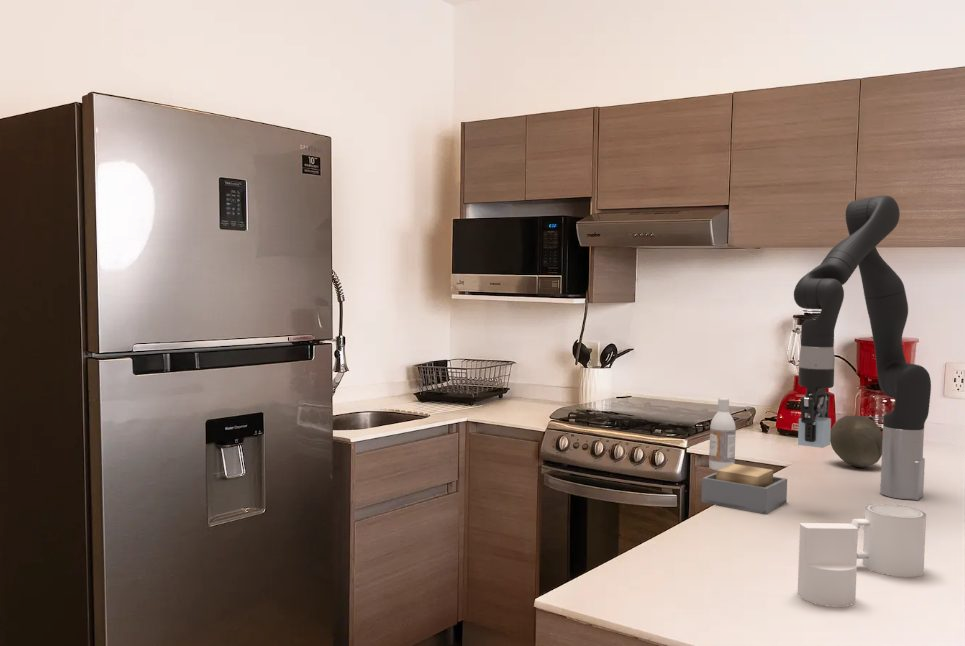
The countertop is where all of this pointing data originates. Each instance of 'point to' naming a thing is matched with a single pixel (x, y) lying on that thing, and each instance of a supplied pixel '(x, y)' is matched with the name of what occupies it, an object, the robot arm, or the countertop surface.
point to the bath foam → (722, 437)
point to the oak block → (746, 475)
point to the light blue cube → (821, 433)
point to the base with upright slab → (828, 563)
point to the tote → (744, 494)
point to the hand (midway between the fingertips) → (814, 439)
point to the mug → (893, 540)
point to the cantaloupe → (857, 440)
